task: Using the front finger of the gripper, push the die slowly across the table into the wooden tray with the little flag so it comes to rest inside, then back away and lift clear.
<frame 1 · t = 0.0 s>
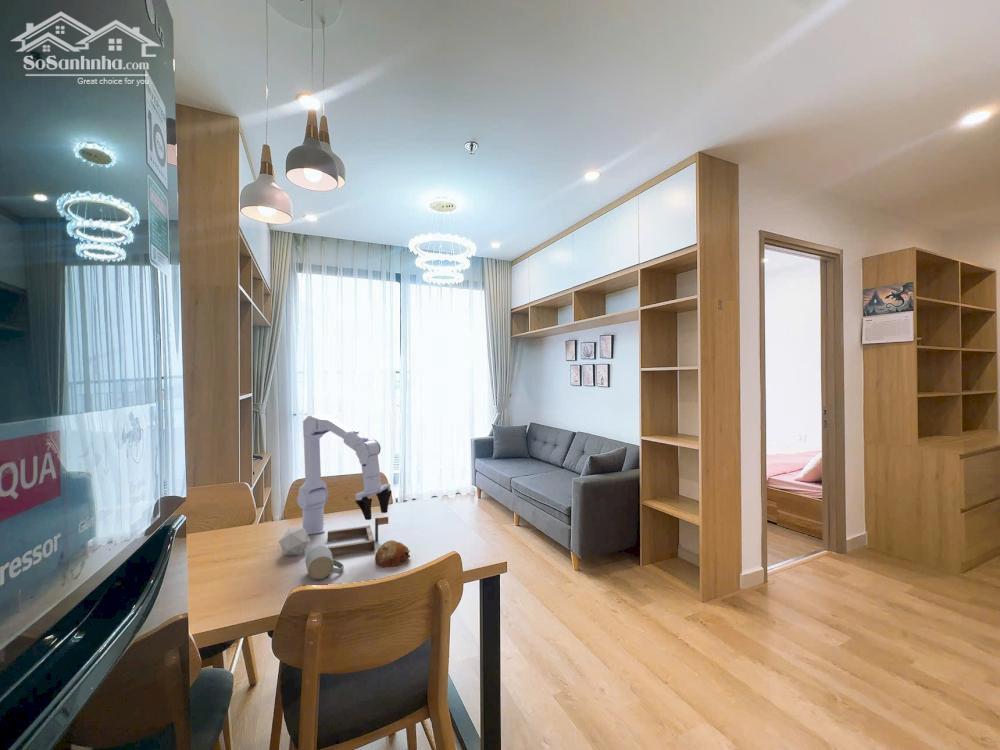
hand: (376, 516, 142), 11 cm above the table, tool pointing down, fingers open, 7 cm apart
ceramic mug: (324, 574, 123), on the table
wooden tray: (348, 545, 144), on the table
bread roll: (392, 561, 132), on the table
die: (294, 553, 137), on the table
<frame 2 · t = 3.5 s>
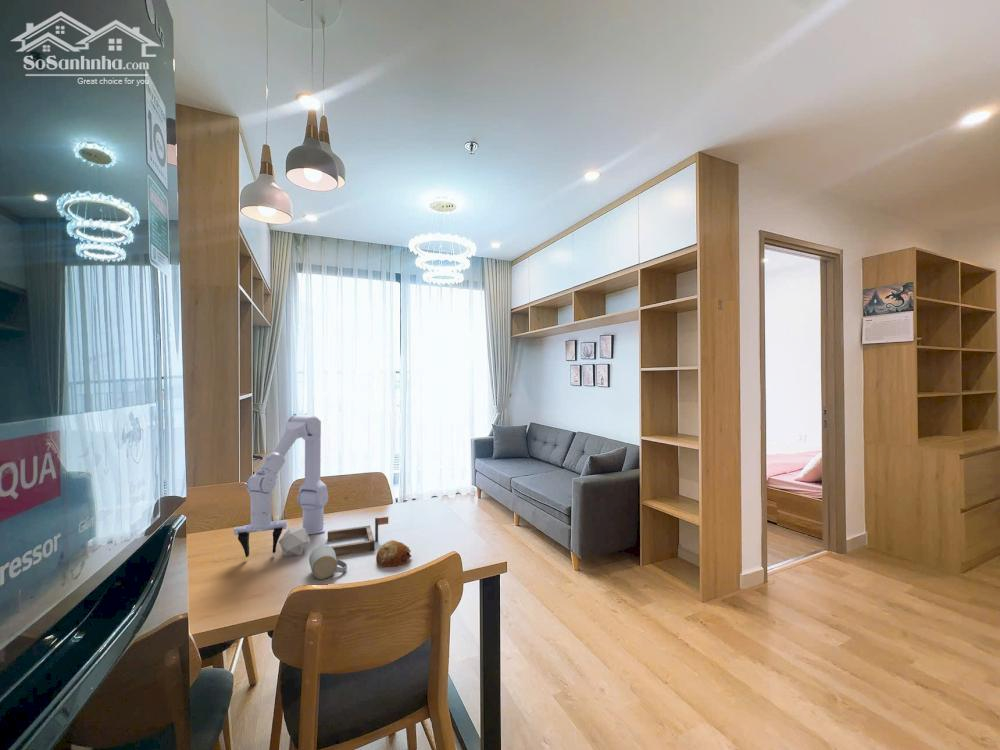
hand: (261, 553, 134), 1 cm above the table, tool pointing down, fingers open, 7 cm apart
die: (294, 553, 137), on the table, touching gripper
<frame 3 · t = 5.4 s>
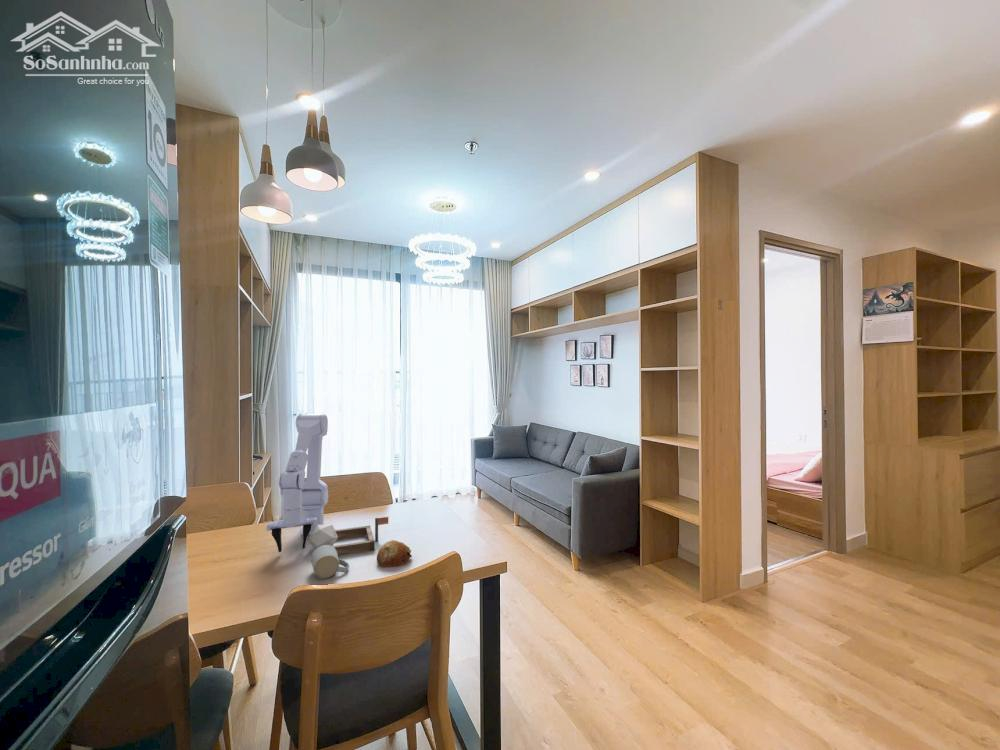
hand: (292, 549, 137), 1 cm above the table, tool pointing down, fingers open, 6 cm apart
die: (323, 549, 141), on the table, touching gripper
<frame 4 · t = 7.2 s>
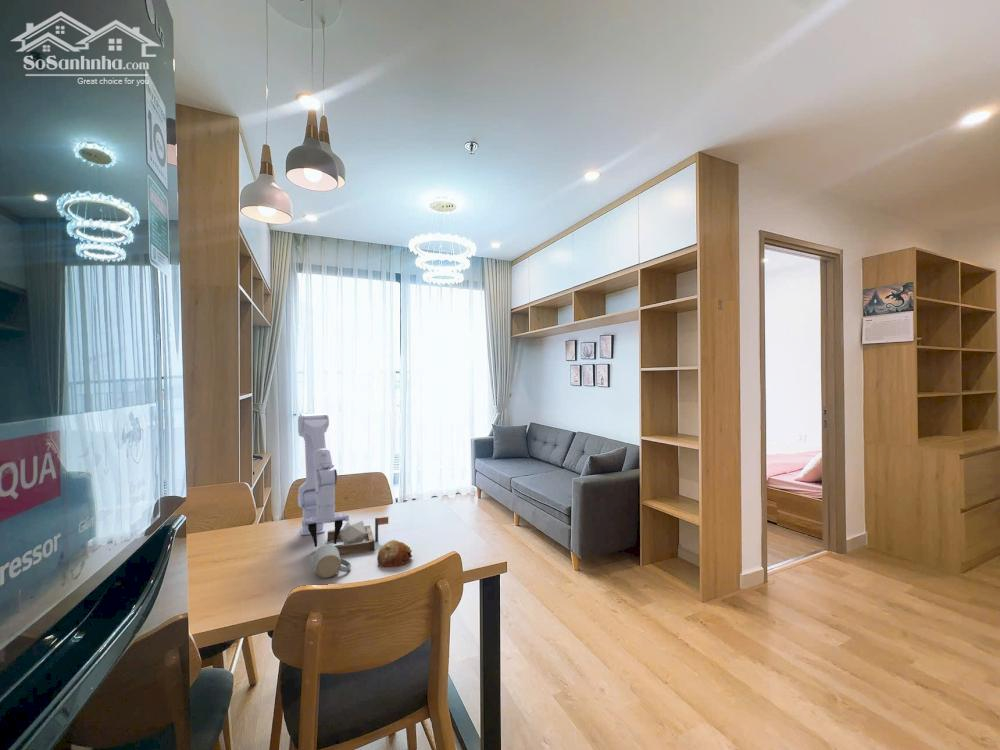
hand: (325, 544, 141), 1 cm above the table, tool pointing down, fingers open, 5 cm apart
die: (353, 544, 144), on the table, touching gripper, wooden tray
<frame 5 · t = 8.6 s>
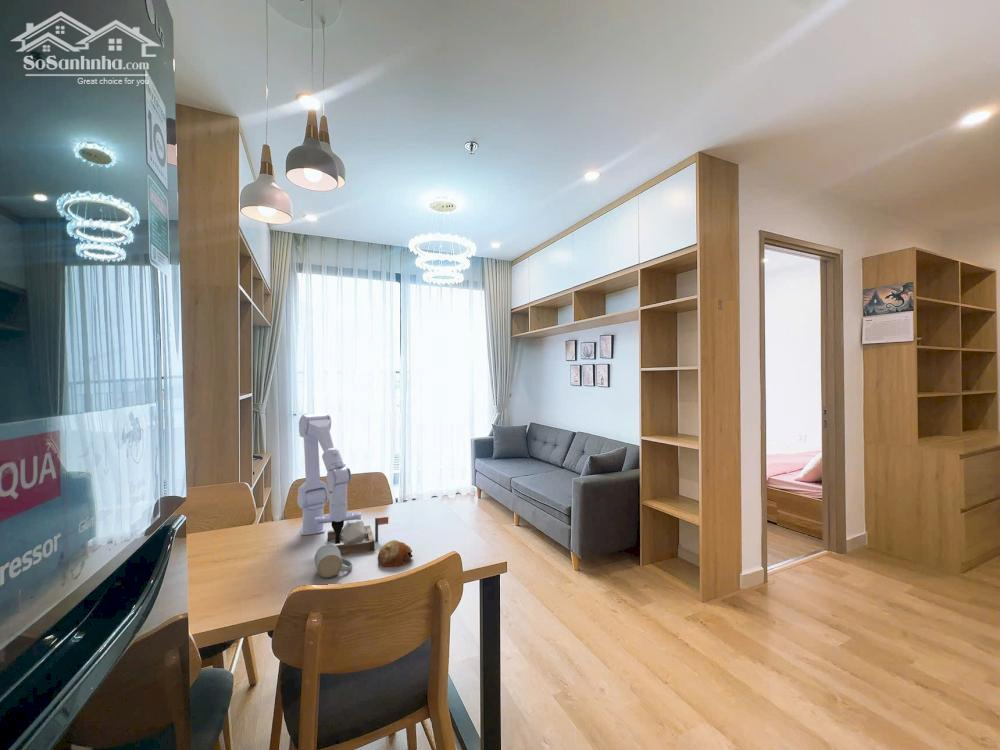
hand: (338, 542, 143), 1 cm above the table, tool pointing down, fingers closed, pressing on die
die: (353, 544, 144), on the table, touching gripper, wooden tray
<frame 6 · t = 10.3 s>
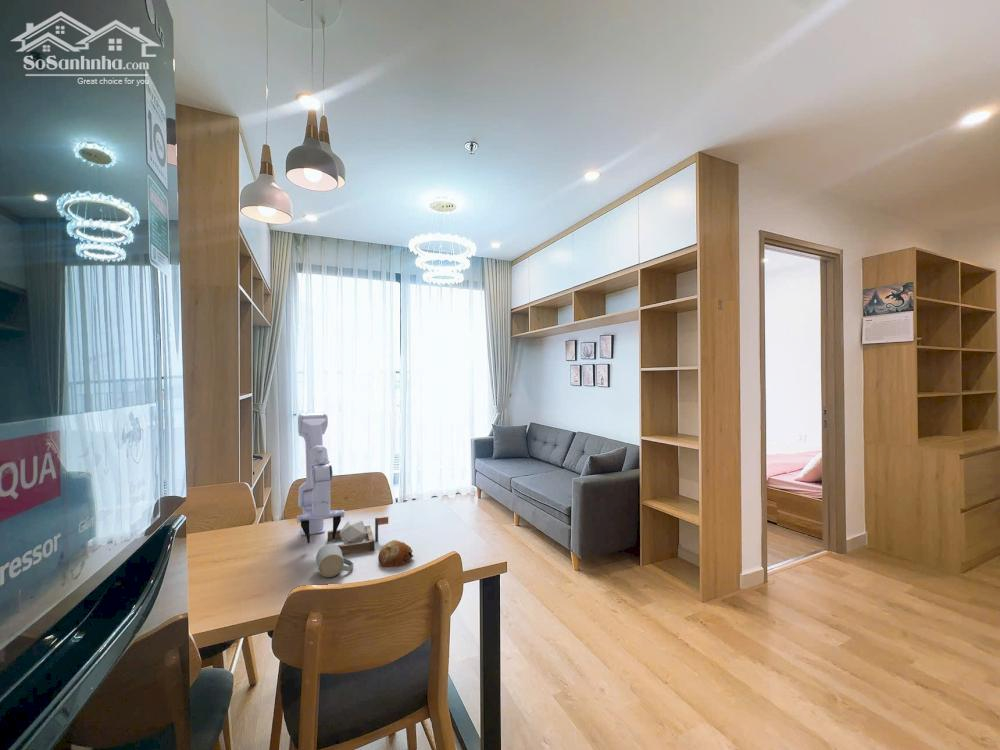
hand: (321, 540, 141), 3 cm above the table, tool pointing down, fingers open, 7 cm apart
die: (353, 544, 144), on the table, touching wooden tray
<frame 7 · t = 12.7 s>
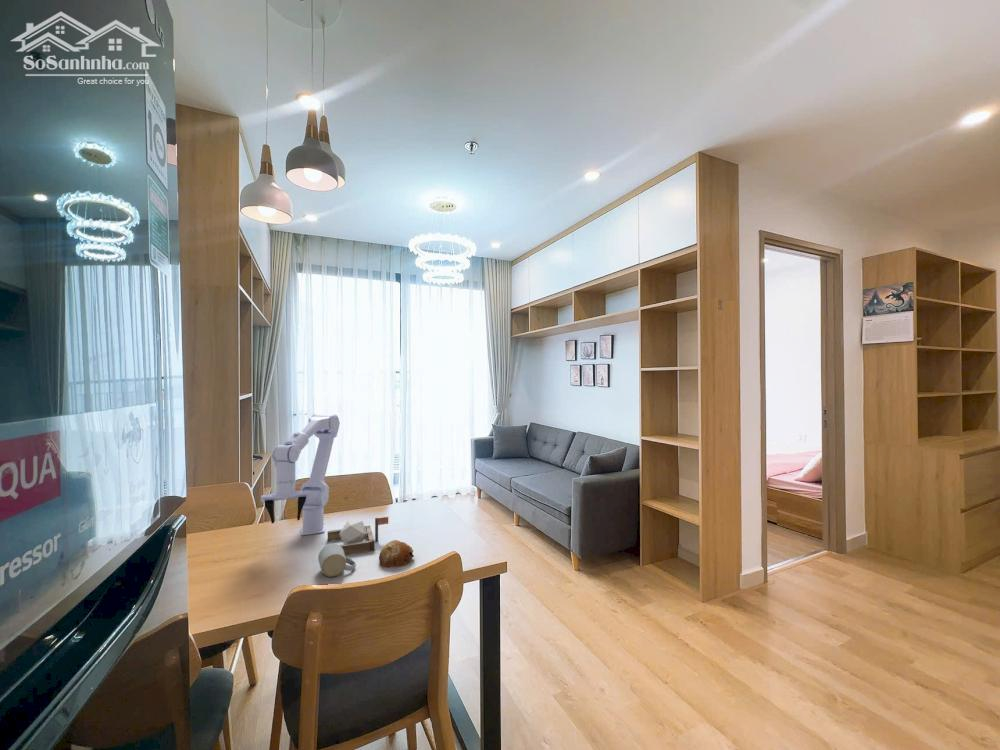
hand: (286, 520, 141), 9 cm above the table, tool pointing down, fingers open, 7 cm apart
die: (353, 545, 144), on the table
at the end: die inside the target area on the wooden tray (0.2 cm from its centre), point 0.0 cm above the wooden tray's base; die tilted 0°; the gripper is holding nothing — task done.
